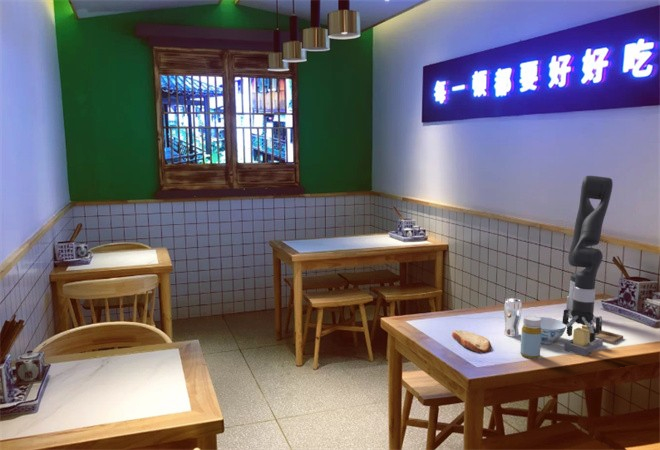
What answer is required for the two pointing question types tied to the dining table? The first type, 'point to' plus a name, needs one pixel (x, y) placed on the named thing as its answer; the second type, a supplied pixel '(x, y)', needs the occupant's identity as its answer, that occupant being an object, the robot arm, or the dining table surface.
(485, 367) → the dining table surface
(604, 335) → the tray
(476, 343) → the slice of bread
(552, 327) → the chinaware
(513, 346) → the dining table surface
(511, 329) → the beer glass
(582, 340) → the butter block
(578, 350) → the butter dish
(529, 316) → the bottle
